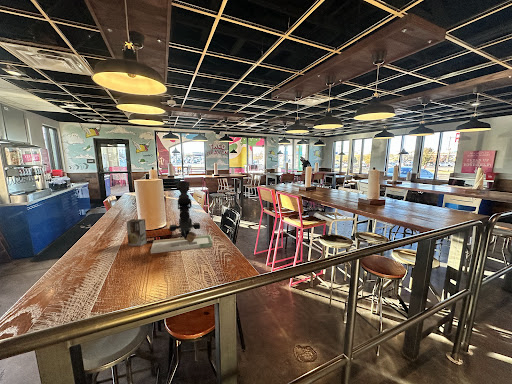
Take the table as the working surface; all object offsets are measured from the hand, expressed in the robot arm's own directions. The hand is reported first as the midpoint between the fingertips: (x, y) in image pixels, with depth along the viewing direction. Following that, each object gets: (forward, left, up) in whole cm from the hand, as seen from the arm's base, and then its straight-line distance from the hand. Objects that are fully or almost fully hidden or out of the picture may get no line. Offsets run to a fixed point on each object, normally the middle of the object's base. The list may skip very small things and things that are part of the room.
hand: (185, 239), depth 137 cm
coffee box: (-11, -30, -4) cm, 32 cm away
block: (+2, +3, 0) cm, 3 cm away
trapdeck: (+2, -2, -4) cm, 4 cm away
